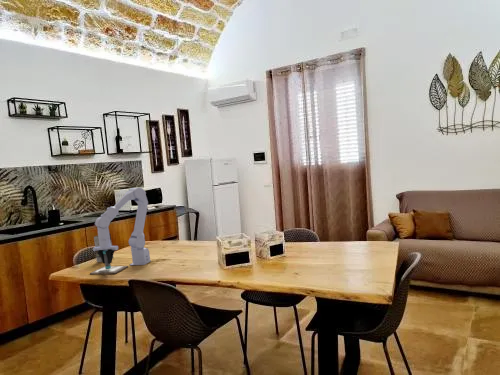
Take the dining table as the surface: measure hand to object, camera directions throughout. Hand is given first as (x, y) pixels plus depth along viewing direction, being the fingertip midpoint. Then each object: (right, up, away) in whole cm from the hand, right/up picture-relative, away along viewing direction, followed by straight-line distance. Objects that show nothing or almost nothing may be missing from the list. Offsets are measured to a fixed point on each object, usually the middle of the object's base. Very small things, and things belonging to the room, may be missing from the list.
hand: (107, 263), depth 204 cm
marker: (0, -3, 0) cm, 3 cm away
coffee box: (-13, -4, +29) cm, 32 cm away
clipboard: (0, -5, +2) cm, 5 cm away
